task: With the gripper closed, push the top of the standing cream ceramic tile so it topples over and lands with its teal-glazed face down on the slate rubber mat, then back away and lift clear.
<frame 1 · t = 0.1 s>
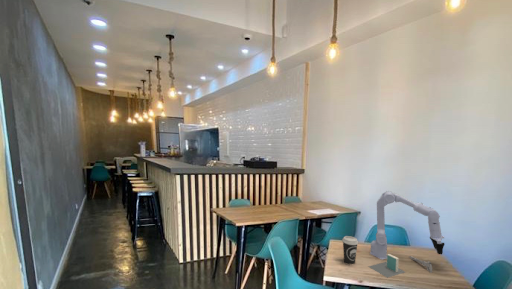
hand: (438, 251, 148), 11 cm above the table, tool pointing down, fingers open, 7 cm apart
caliper: (419, 265, 153), on the table
coffee cup: (349, 262, 153), on the table
tile: (392, 269, 145), resting on mat
mat: (386, 269, 145), on the table
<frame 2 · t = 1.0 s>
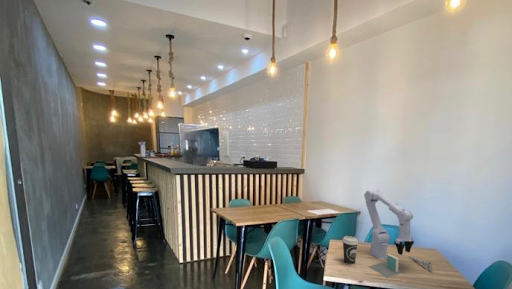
hand: (403, 253, 147), 10 cm above the table, tool pointing down, fingers open, 7 cm apart
nothing on the table moved.
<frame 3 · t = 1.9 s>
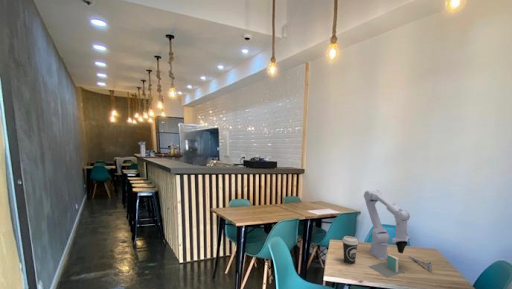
hand: (400, 252, 148), 9 cm above the table, tool pointing down, fingers closed
nothing on the table moved.
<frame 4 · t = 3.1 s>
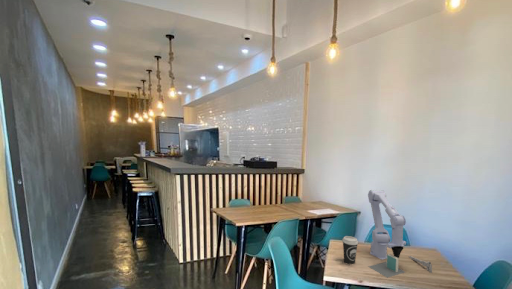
hand: (396, 257, 146), 7 cm above the table, tool pointing down, fingers closed
nothing on the table moved.
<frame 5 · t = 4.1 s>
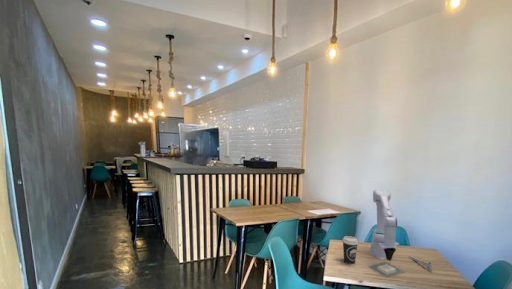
hand: (388, 259, 143), 7 cm above the table, tool pointing down, fingers closed
tile: (391, 268, 144), point 1 cm above the table, tilted 90°, touching mat
everything else where it was.
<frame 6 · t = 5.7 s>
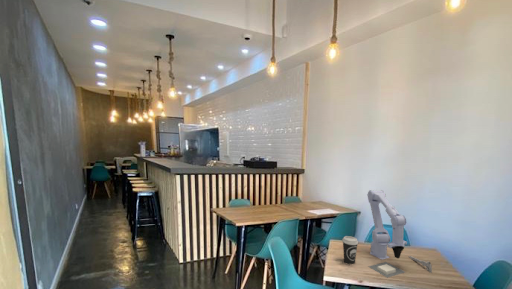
hand: (396, 257, 146), 7 cm above the table, tool pointing down, fingers closed
nothing on the table moved.
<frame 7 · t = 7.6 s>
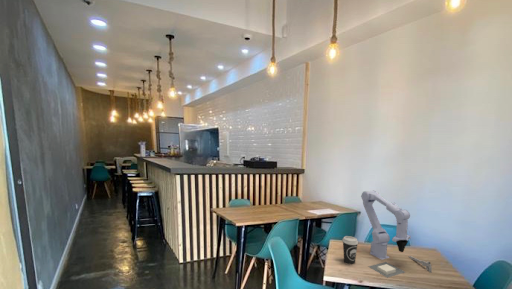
hand: (401, 251, 149), 9 cm above the table, tool pointing down, fingers closed
nothing on the table moved.
at the end: tile tilted 90°; tile 1.1 cm from the target spot, point 1.4 cm above the table; tile touching mat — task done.
